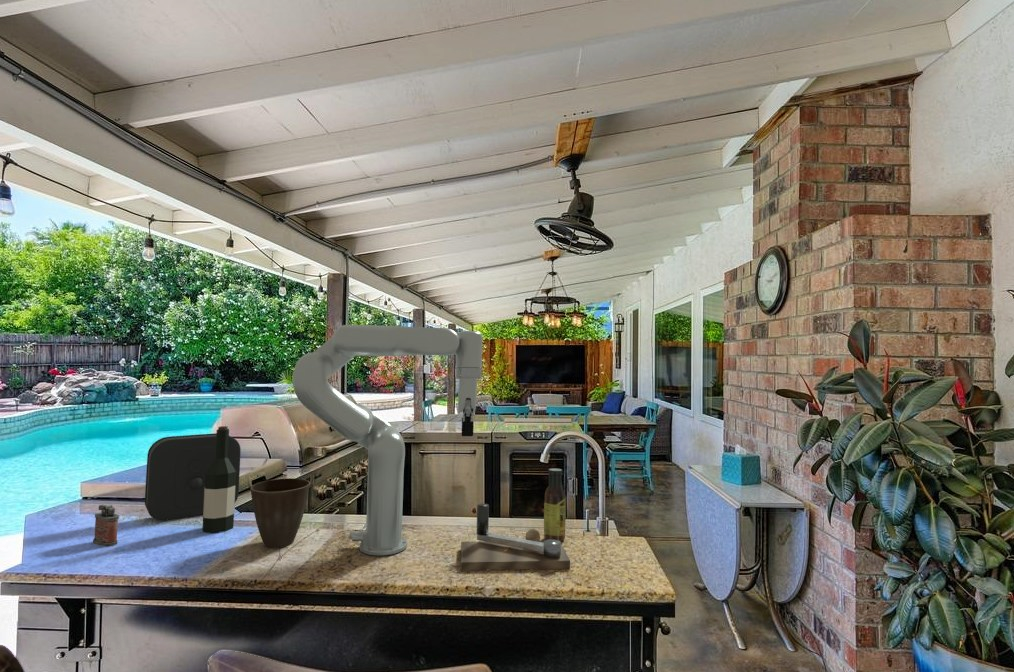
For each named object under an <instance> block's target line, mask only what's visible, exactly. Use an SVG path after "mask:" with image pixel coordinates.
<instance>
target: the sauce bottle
mask: <svg viewBox="0 0 1014 672" xmlns="http://www.w3.org/2000/svg"><path fill="white" fill-rule="evenodd" d="M562 476H563V469H561V468H558V467H557V468H553V467H552V468H549V469H548V486H547V487H546V489H545V492H544V503H543V504H544V505H543V507H544V508H543V534H544V535H543V537H544V539H545V540H549V539H553V540H558V541H560V542H563V541H564V540H565V539H566V514H567V513H566V510H567V509H566V507H567V506H566V505H567V504H566V501H567V500H566V499H567V497H566V495H565V490H564V488H563V483H562Z"/></svg>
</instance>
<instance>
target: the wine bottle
mask: <svg viewBox="0 0 1014 672" xmlns="http://www.w3.org/2000/svg"><path fill="white" fill-rule="evenodd" d="M217 428H218V429H216V432H215V433H216V452H215V459H214V460H213V462H212V463H211V465H210V466H209V468H208V469H207V471H206V472H205V489H204V508H203V515H202V528H201V530H202V533H205V534H219V533H223V532H227V531H229V530H231V529H234V522H235V521H234V520H235V504H236V502H235V482H236V471H235V469H234V467H233V466H232V464H231V462H230V461H229V459H228V442H229V436H230V429H229V427H228V426H224V425H223V426H218V427H217Z"/></svg>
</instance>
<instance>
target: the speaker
mask: <svg viewBox="0 0 1014 672" xmlns="http://www.w3.org/2000/svg"><path fill="white" fill-rule="evenodd" d="M216 433H217V432H215V433H202V434H189V435H188V434H187V435H184V434H183V435H173V436H164V437H161V438H159V439H157V440H156V441H155V442H153V443H152V445H151V446H150V447H149V449H148V451H147V455H146V472H145V474H146V475H145V491H144V492H145V493H144V495H145V496H144V505H145V508H146V510H147V513H148V514H149V516H150V517H151V518H153V519H154V520H156V521H159V522H168V521H174V520H175V521H177V520H182V519H188V518H193V517H201V516H203V508H204V489H205V472H206V471H207V469H208V468H209V466H210V465H211V463H212V462H213V460H214V459H215V452H216ZM241 450H242V449H241V445H240V443H239V441H238V440H237V439H235V438H234V437H232V436H230V435H229V442H228V459H229V461H230V462H231V464H232V466H233V467H234V469H235V471H236V482H235V503H236V502H237V500H238V498H239V490H240V489H239V488H240V476H241V475H240V474H241V473H240V469H241V453H242V452H241Z"/></svg>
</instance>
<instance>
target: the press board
mask: <svg viewBox="0 0 1014 672" xmlns="http://www.w3.org/2000/svg"><path fill="white" fill-rule="evenodd" d="M524 539H526V540H531V541H537V542H542V543H544V541H545V540H541V534H540V532H539V531H538V530H537V529H535V528H531V529H528V530H527V532H526V533H525V538H524ZM460 542H461V543H460V571H461V572H463V571H466V572H467V571H470V570H474V571H488V570H487V569H532V570H571V559H570V558H569V556H568V554H567V552H566V551H565V549H564V547H563V545H562V544H561V556H560V557H557V558H549V557H546V556H544V555H543V552H539V551H533V550H528V549H523V548H518V547H512V546H507V545H502V544H497V543H491V542H486V541H481V540H477V541H460Z"/></svg>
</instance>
